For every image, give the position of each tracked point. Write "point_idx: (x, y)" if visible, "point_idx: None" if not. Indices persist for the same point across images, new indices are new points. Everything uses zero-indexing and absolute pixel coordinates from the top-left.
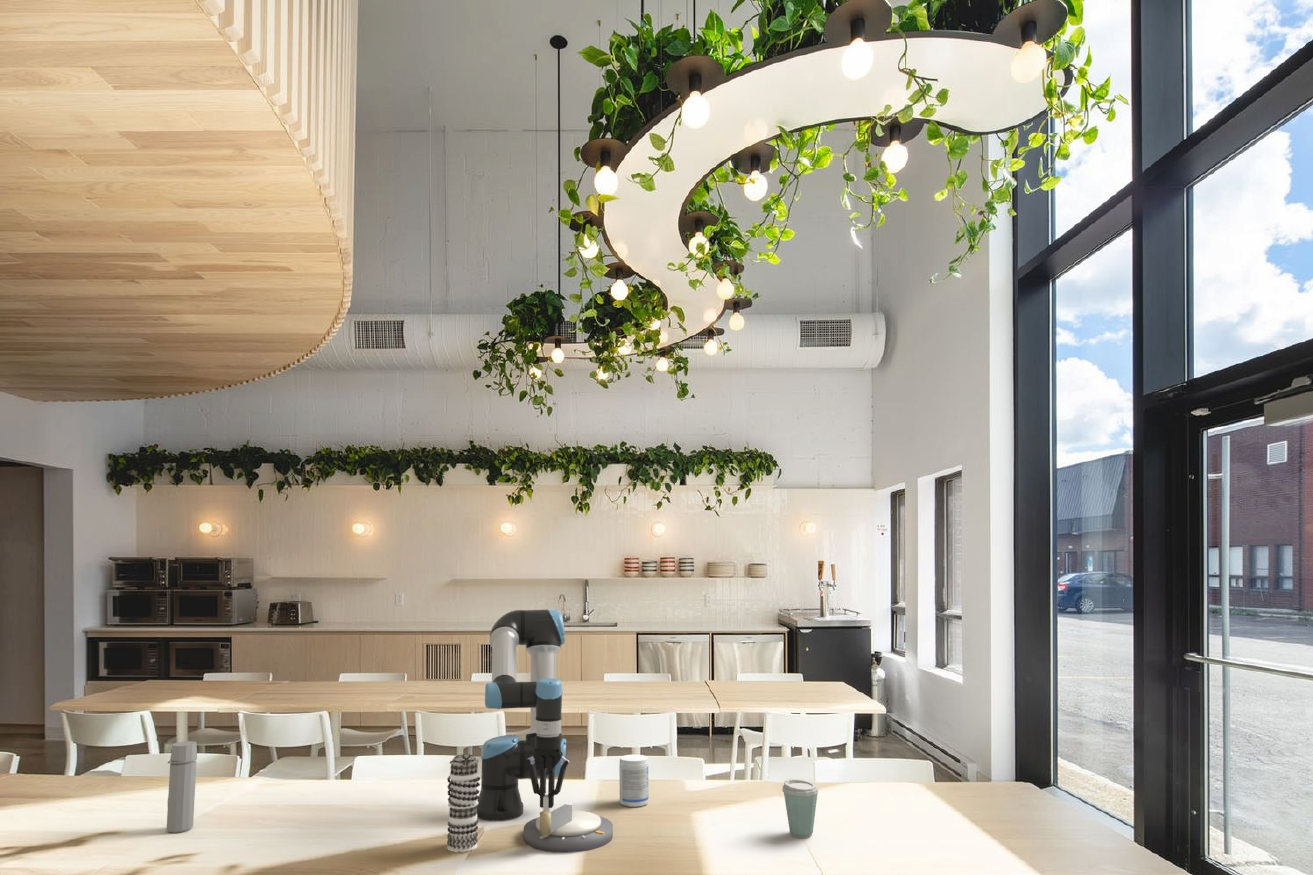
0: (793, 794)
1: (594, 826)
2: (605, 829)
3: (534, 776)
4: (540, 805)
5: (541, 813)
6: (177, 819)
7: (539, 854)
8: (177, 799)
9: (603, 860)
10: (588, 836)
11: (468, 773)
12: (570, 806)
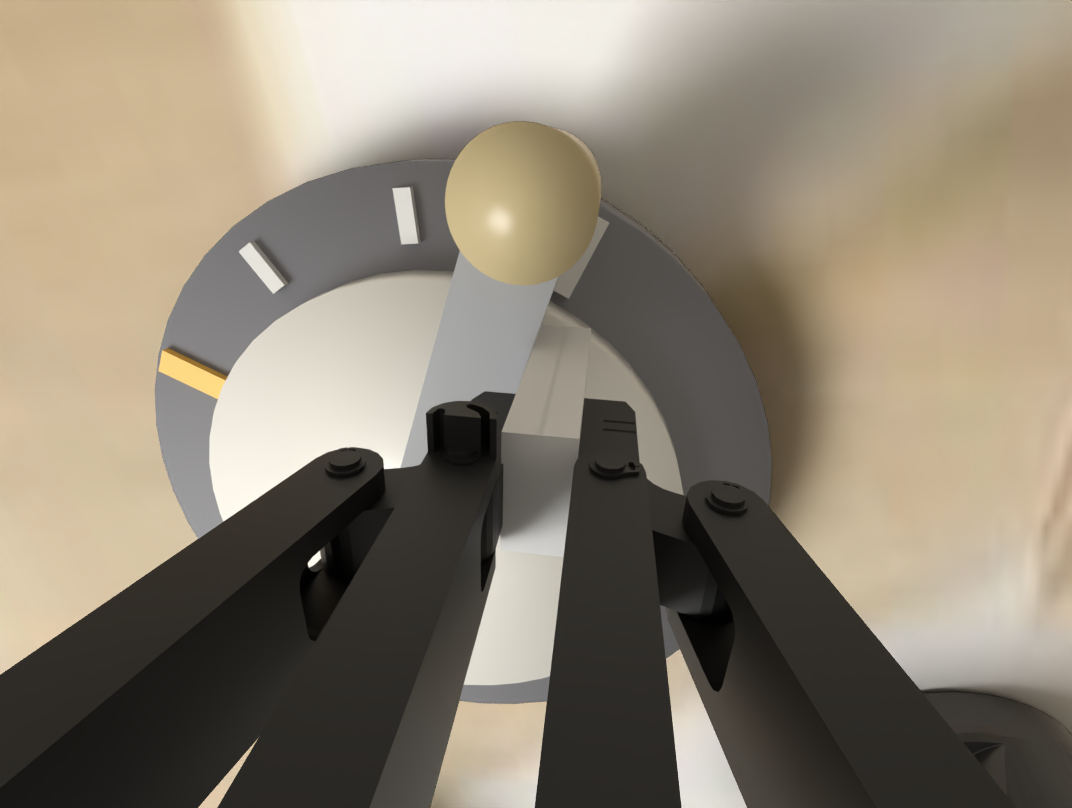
0: None
1: (217, 405)
2: (194, 442)
3: (864, 784)
4: (625, 410)
5: (569, 168)
6: None
7: (587, 88)
8: None
9: (82, 5)
10: (245, 296)
11: None
12: None
